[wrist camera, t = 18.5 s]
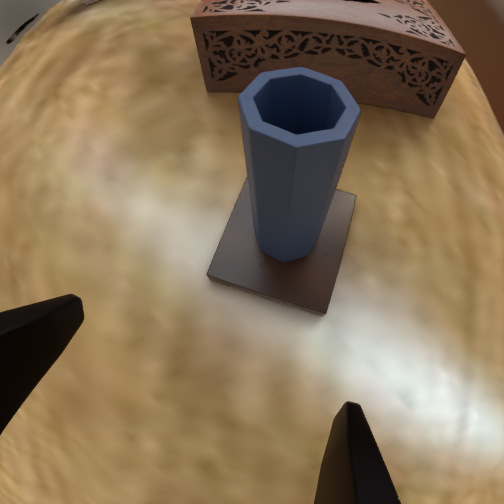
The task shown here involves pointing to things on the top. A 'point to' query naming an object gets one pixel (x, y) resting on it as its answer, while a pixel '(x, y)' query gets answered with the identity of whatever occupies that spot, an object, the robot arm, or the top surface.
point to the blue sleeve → (294, 154)
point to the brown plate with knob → (276, 272)
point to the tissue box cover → (332, 47)
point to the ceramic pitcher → (89, 1)
